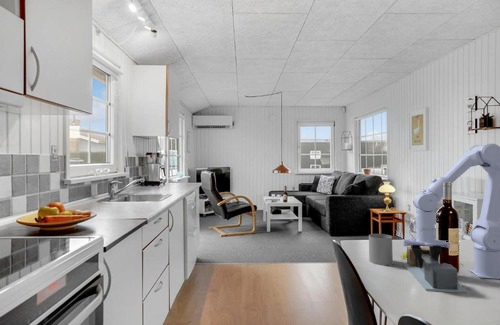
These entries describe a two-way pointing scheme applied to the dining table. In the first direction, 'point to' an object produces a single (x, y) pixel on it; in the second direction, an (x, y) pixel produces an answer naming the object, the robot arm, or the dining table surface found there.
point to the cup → (380, 249)
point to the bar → (426, 260)
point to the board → (421, 279)
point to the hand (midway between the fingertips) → (426, 267)
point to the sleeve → (441, 276)
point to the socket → (412, 256)
